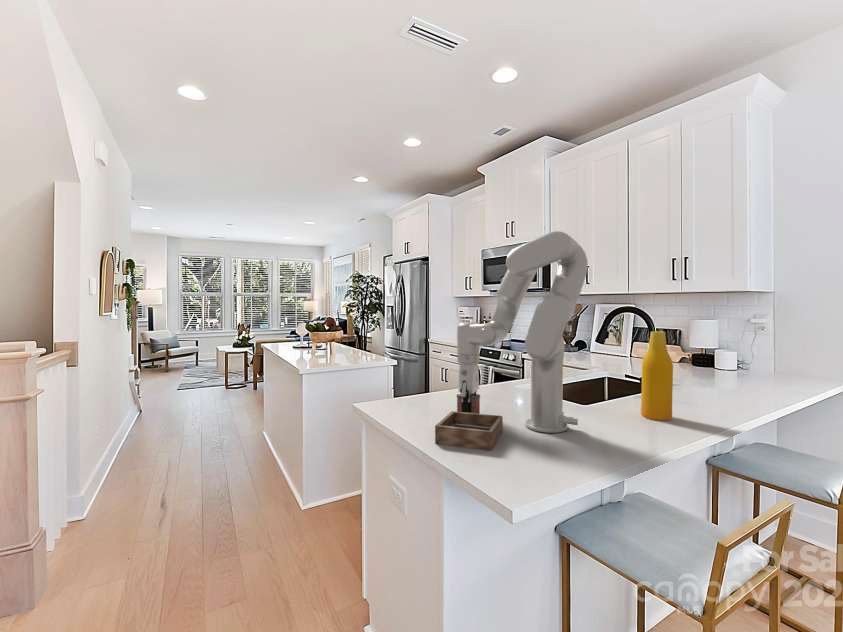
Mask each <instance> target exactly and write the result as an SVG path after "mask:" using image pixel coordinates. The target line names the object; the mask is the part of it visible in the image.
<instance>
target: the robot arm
mask: <svg viewBox="0 0 843 632" xmlns="http://www.w3.org/2000/svg"><path fill="white" fill-rule="evenodd" d="M553 263H557V266H558V269H557V271H556V274H555V276H554V278H553V282H552V285H551V287H550V290H549V293H548V294H547V295H545V296H543V297H542V298H541V299H540V300H539V302H538V303H537V306H536V307H535V310H534V313H533V316H532V319H531V320H530V321H531V322H530V324H529V327H528V331H527V333H526V336H525V339H524V348H525V351H526V354H527V355H528V356H529V358H531V365H530V366H531V367H530V369H531V370H530V418H528V419H527V420H525V426H526V427H527V428H528V429H530V430H532V431H535V432H539V433H546V434H547V433H548V434H549V433H550V434H551V433H552V434H557V433H563V432H565V431H567V430H568V428H569V427H568V426H569V425H572V426H579V425H578V421H579V419H578V418H575V417H573V416H566V415H565V413H564V412H565V411H563V401H564V400H563V395H564V394H563V393H564V392H563V390H564V389H563V388H564V387H563V385H564V380H563V379H564V358H565V355H564V354H565V339H564V336H563V335H564V332H565V329H566V327H567V323H568V322H570V320H572V318H573V317H574V314H575V311H576V307H577V303H578V300H579V297H580V295H581V292H582V289H583V286H584V283H585V280H586V276H587V273H588V268H589V267H588V265H589V263H588V257H587V254H586V252H585V250H584V249H583V247H582V246H581V245H580V244H579V243H578V242H577V241H576V240H575V239H574V238H573V237H572V236H570V235H569V234H568V233H566V232H565V231H560V230H559V231H558V230H557V231H551V232H548V233H546V234H544V235H542V236H540V237H537V238H535V239H533V240H532V239H531V240H530V241H528V242H526V243H523V244H521V245H519V246H517V247H515V248H512V250H510V251H509V253H508V254H507V256H506V259H505V266H506V268H507V270H506V272H505V274H504V276H503V277H502V280H501V282H500V284H499V286H498V288H497V290H496V296H497V305H496V309H495V310H494V313H493V315H492V317H491V319H490V321H489V322H486V323H479V324H478V323H476V322H460V323H458V325H457V329H456V331H457V332H456V335H457V337H456V338H457V339H456V341H457V342H456V344H457V346H456V347H457V353H456V354H457V357H456V358H457V360H456V361H457V362H456V363H457V364H459V370H458V371H459V373H458V392H459V394H461V397H462V412H465V413H471V402H470V401H471V394H474V393H475V392H476V391H478V390H479V389H480V378H479V377H480V376H479V371H480V370H479V364H480V346H482V347H483V346H484V347H490V346H493V345H496V344H500V343H502V342H503V341H504V340H505V339H506V337H507V336H508V334H509V332H510V330H511V328H512V326H513V325H514V323H515V320H516V317H518V312H519V310H520V308H521V303H522V301H523V299H524V297H525V295H526V294H527V291H528V290H529V288H530V286H531V284H532V282H533V280H534V278H535V276H536V274H537V272H538V270H539V269H540V268H543V267H545V266H548V265H550V264H553ZM466 391H469V393H466ZM476 393H477V392H476ZM466 395H468V396H466Z"/></svg>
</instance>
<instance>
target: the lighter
mask: <svg viewBox="0 0 843 632" xmlns="http://www.w3.org/2000/svg"><path fill="white" fill-rule="evenodd" d="M477 391H478V390H477ZM477 391H476V392H475V393H474V394H471V401H470V402H471V413H475V414H481V413H480V412H481V411H480V410H481V408H480V406H481V403H480V402H481V394H478V392H477ZM466 393H469V391H466ZM461 394H462V393H457V394H456V412H462V397H461ZM466 396H468V395H466Z"/></svg>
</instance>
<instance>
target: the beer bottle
mask: <svg viewBox="0 0 843 632" xmlns="http://www.w3.org/2000/svg"><path fill="white" fill-rule="evenodd" d="M666 337H667V336H666V332H665V331H650V336H649V342H648V348H647V352H646V353H645V354H644V356H643V358H642V359H643V360H642V362H641V363H642V364H641V398H640V399H641V404H640V405H641V406H640V414H641V416H642V418H645V419H648V420H651V421H658V422H659V421H661V422H663V421H664V422H665V421H667V422H668V421H670V420H672V417H673V387H674V386H673V385H674V384H673V383H674V380H673V379H674V377H673V375H674V364H673V360H672V357H671V355H670V354H669V351H668V347H667V340H666V339H667V338H666Z"/></svg>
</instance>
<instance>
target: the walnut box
mask: <svg viewBox="0 0 843 632" xmlns="http://www.w3.org/2000/svg"><path fill="white" fill-rule="evenodd" d="M503 424H504V423H503V415H496V414H495V415H493V414H485V413H483V414H482V413H480V414H475V413H465V412H457V411H453V410H452V411H450V412H449V413H448V414H447V415H445V416H444V417H443V418H442V419H441V420H440V421H439V422H438V423H436V424H435V426H434V433H435V435H434V437H435V438H434V440H435V441H434V444H435V445H436V444H437V445H445V446H451V447H452V446H454V447H460V448H461V447H462V448H466V449H467V448H468V449H476V450H484V451H491V452H492V451H493V449H494V448H495V445H497V443H498V441H499V439H500V437H501V436H502V434H503V431H504V430H503V429H504V428H503Z"/></svg>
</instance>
